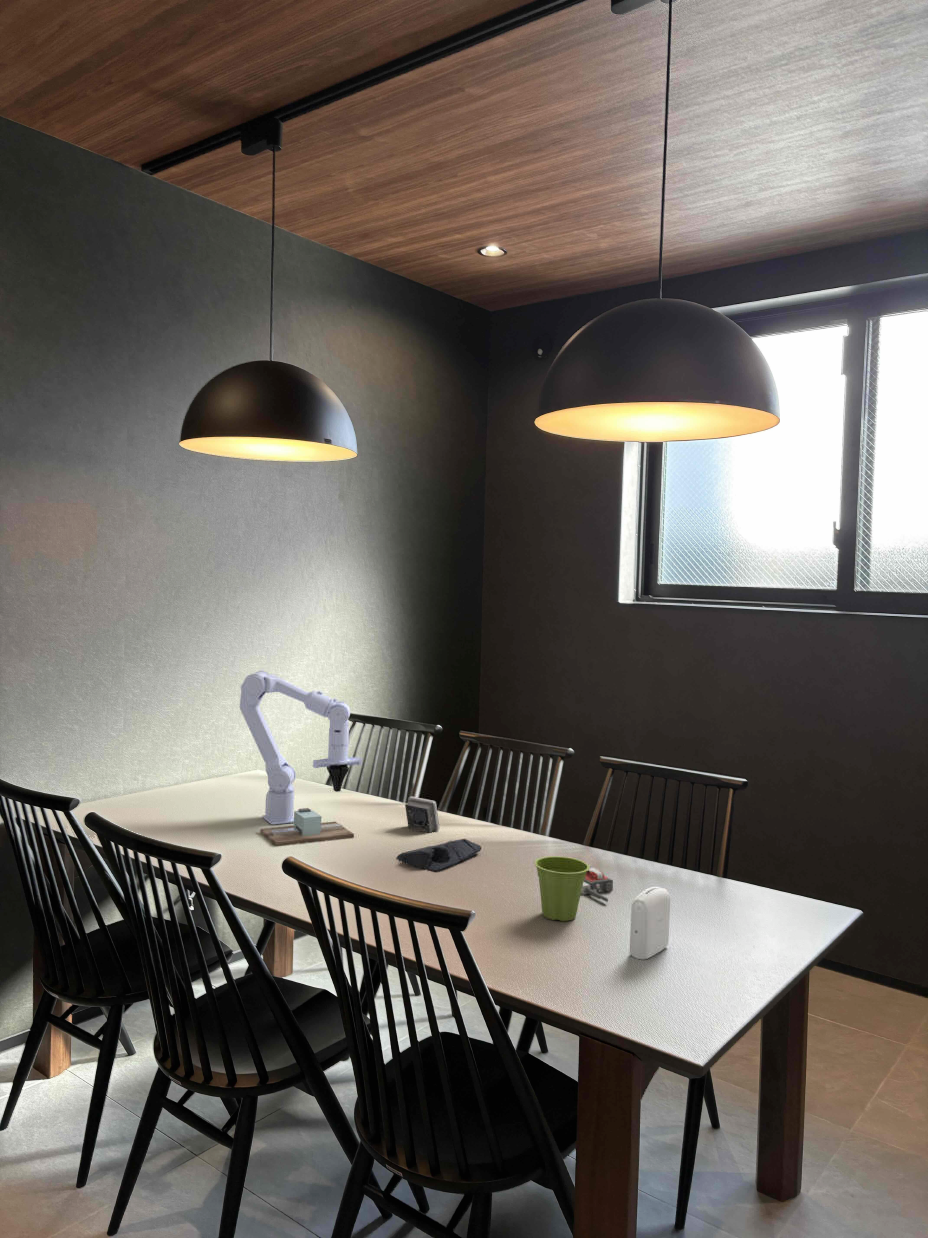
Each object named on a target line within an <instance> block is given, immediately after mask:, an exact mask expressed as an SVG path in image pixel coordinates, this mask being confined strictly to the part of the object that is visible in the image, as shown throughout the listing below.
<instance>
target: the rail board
mask: <svg viewBox="0 0 928 1238" xmlns="http://www.w3.org/2000/svg"><path fill="white" fill-rule="evenodd" d="M259 830H260V834H261V835H262V836H264V837H265V838H266V839H267V840H268V841H269V842H270V843H272V844H273V845H274V846H275V847H279V846H280V847H281V846H289V845H290V844H291V845H297V843H300V844H306V843H305V842H309V843H316V842H315V841H318V842H325V840H327V841H336V840H342V839H343V840H345V839H352V838H355V834H354V833H353V832H352V831H350V830H348V829H347V828H346V827H344V825H343V824H341V823H340V822H339V823H338V822H337V821H329V822H328V821H327V822H321V834H320V835H310V836H302V835H301V833H302V830H301V829H300V828H299V827H298V828H294V825H287V826H278V827H268V828H267V827H266V828H260V829H259ZM334 839H335V840H334Z"/></svg>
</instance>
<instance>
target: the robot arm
mask: <svg viewBox="0 0 928 1238" xmlns="http://www.w3.org/2000/svg"><path fill="white" fill-rule="evenodd" d="M240 691H241V692H240V700H239V709H240V711H241V714H242V716H243V718H244V721H245V723H246V725H247V727H248V730H249V731H250V733H251V735H252V738H253V740H254V742H255V744H256V746H257V749H258V751H259V753H260V755H261V757H262V760H263V761H264V763H265V772H266V775H267V784H268V786H269V788H268V790H267V792H266V795H265V811H264V814H263V815H262V816H261V817H262V818H263V819H264V820H265V821H266V822H268V823H269V824H270V825H281V824H282V825H283V824H294V811H295V810H294V806H295V805H294V804H295V803H294V801H295V796H294V795H295V787H294V786H293V784H292V783H294V781H295V780H296V775H297V774H296V770H295V768H294V767H292V766H291V765H290V764H289V763H288V761H287V759H286V758H285V757H284V756H283V755H282V753H281V751H280V749H279V747H278V745H277V743H276V740H275V738H274V736H273V734H272V732H271V730H270V727H269V725H268V724H267V721H266V719H265V717H264V715H263V712H262V710H261V709H260V705H261V702H262V701H263V698H264V696H265V694H271V693H280V694H283V695H285V696H287V697H289V698H293V699H295V700H297V701H299V702H301V703H303V705H304V707H305V709H306V710H308V711H311V712H313V713H314V714H317V715H319V716H321V717H323V718H328V721H329V728H328V746H327V747H328V749H327V751H328V753H327V758H322V759H321V758H320V759H315V760H312V767H313V768H314V769H319V768H326V770H327V771H328V774H329V776H330V779H331V783H332V789H333V791H334V792H338V793H339V792H341V790H342V786H343V782H344V779H345V778H346V776H347V774H348V772H349V771H350V770H349V769H350V767H349V766H362V765H363V758H362V757H359V756H357V757H349V735H350V728H349V724H350V723H349V718H350V715H351V708H350V706H349V705H348V703H346V702H344V701H343V700H342V701H340V700H339V701H338V699H337V698H334V699H333V698H332V697H330V696H328V695H325V694H323V693H324V691H322V690H320V689H319V690H318V691H317V690H312V691H307V690H304V689H303V688H301V687H299V686H297V685H296V684H293V683H291V682H289V681H287V680H285V679H283V678H282V677H279V676H278V675H275V674H272V673H268V672H267V671H264V670H258V671H256V672H255V673H251V674H249V675H247V676H246V677H245V678H244V680H243V682H242V683H241V685H240Z"/></svg>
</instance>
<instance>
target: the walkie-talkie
mask: <svg viewBox="0 0 928 1238" xmlns="http://www.w3.org/2000/svg"><path fill="white" fill-rule="evenodd" d="M613 884H614V880H613V879H611V878H610V877H607V876H605V874H604V872H603V871H601V870H598V869H597V868H595V867H591V868H589V870H588V871H587V873H586V877H585V880H584V882H583V886H582V890H581V894H582V895H587V894H588V895H591V896H592V897H594V898H596V899H598V900H603V901H604V902H606V903H608V902H609V899H608V898H607V897H606V896H604V895H602V894H600V893H605V892H612V891H613V889H614V888H613V887H614V885H613Z"/></svg>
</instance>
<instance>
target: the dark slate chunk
mask: <svg viewBox="0 0 928 1238" xmlns="http://www.w3.org/2000/svg"><path fill="white" fill-rule="evenodd" d="M481 850H482V846H481V845H479V844H477V843H475V842H472V841H471V840H468V839H466V838H463V839H462V838H461V839H455V840H449V841H447V842H444V843H439V844H435V845H430V846H424V847H420V848H416V849H413V850H409V851H405V852H401V853H400V854H398V855H397V856H396V859H397V858H398V859H397V860H399V861H398V862H400V861H402V862H401V863H403V862H405V863H404V864H406V863H407V864H406V865H408V866H410V865H411V866H410V867H412V866H413V867H412V868H416V867H417V868H416V869H419V868H420V869H421V870H426V871H430V870H431V871H434V872H436V871H438V872H441V871H442V870H443V869H449V868H451V867H453V866H456V865H458V864H459V863H461V862H463V861H466V860H468V859H470V858H472V857H474V855H476V854H478V853H480V852H481Z"/></svg>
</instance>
